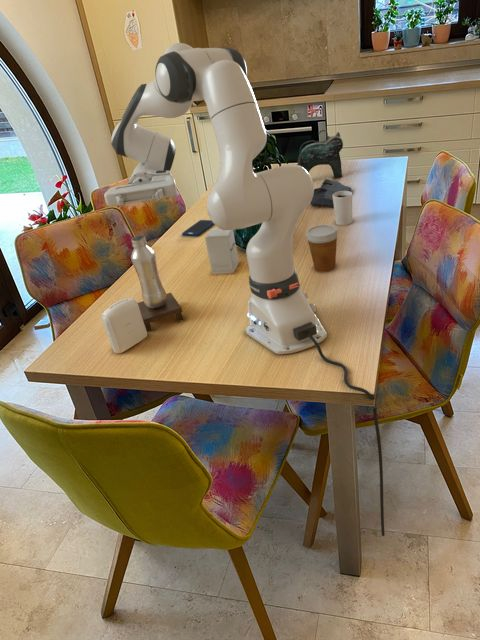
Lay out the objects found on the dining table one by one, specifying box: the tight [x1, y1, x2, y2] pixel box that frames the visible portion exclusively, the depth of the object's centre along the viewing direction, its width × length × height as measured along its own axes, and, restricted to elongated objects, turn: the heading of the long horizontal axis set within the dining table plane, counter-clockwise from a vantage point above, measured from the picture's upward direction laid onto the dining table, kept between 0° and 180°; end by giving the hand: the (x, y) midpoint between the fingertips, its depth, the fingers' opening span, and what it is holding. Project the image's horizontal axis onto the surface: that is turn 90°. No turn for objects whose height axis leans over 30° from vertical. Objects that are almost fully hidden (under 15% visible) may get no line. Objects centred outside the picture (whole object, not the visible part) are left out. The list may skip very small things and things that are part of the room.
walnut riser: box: [137, 292, 184, 333], centre depth 157 cm, size 11×11×4 cm
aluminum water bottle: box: [130, 234, 167, 308], centre depth 151 cm, size 6×7×20 cm
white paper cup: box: [333, 191, 353, 226], centre depth 196 cm, size 7×7×10 cm
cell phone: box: [181, 219, 215, 237], centre depth 213 cm, size 7×14×1 cm, turn 153°
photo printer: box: [100, 297, 148, 354], centre depth 146 cm, size 10×4×12 cm, turn 139°
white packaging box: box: [204, 227, 240, 275], centre depth 176 cm, size 7×7×13 cm
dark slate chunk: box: [309, 178, 352, 208], centre depth 219 cm, size 15×22×5 cm
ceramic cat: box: [296, 129, 344, 179], centre depth 237 cm, size 20×6×20 cm, turn 94°
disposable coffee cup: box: [305, 224, 339, 273], centre depth 167 cm, size 10×10×12 cm
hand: (138, 201), depth 152 cm, fingers open, 8 cm apart
